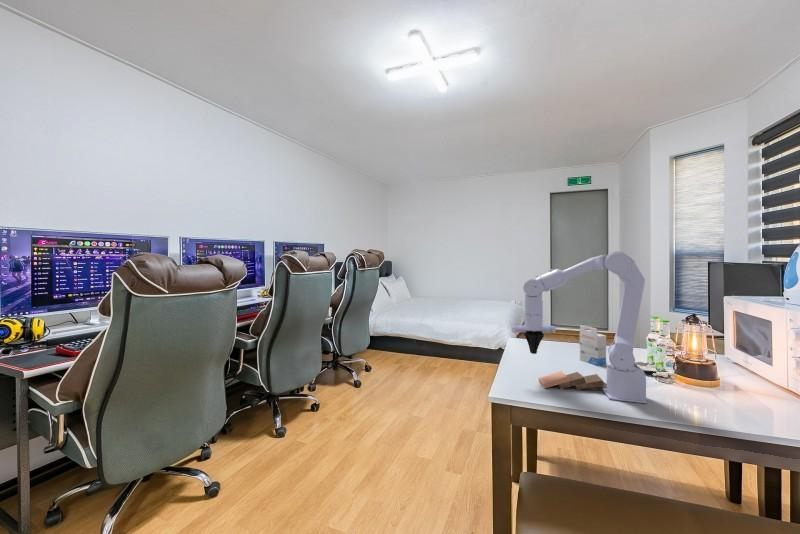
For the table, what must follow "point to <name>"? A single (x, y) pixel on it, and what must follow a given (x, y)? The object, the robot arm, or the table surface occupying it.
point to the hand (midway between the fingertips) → (533, 353)
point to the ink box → (592, 346)
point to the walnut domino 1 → (572, 380)
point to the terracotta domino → (553, 379)
